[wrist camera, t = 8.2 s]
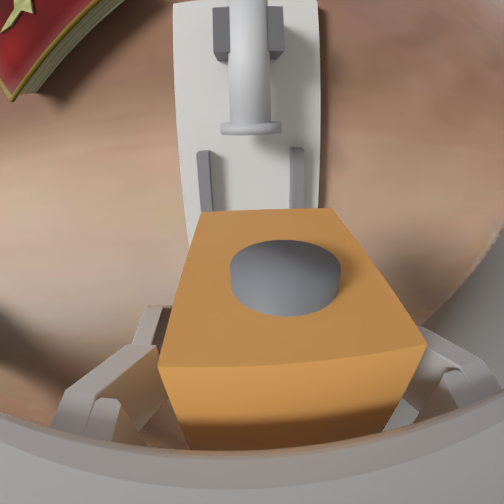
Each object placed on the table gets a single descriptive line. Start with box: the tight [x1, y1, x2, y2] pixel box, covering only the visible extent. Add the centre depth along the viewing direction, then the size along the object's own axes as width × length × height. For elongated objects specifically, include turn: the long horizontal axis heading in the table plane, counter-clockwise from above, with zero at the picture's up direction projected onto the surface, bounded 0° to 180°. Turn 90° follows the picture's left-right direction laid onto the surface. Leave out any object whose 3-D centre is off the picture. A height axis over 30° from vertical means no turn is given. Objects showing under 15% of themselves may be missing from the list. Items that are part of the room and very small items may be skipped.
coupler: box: [157, 208, 427, 451], centre depth 8 cm, size 6×4×6 cm
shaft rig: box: [173, 0, 321, 249], centre depth 20 cm, size 28×10×6 cm, turn 1°
